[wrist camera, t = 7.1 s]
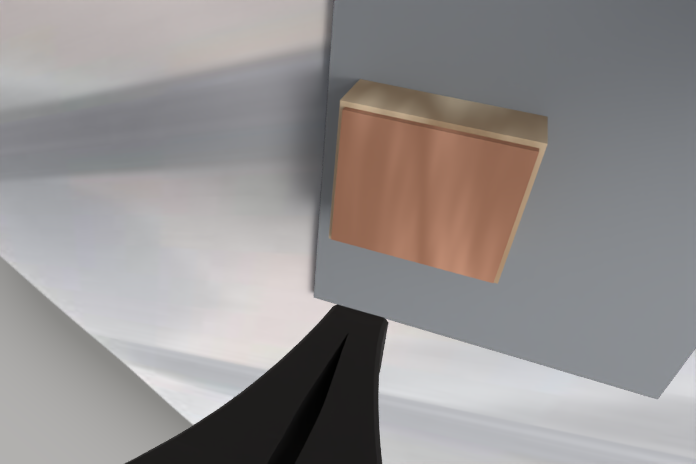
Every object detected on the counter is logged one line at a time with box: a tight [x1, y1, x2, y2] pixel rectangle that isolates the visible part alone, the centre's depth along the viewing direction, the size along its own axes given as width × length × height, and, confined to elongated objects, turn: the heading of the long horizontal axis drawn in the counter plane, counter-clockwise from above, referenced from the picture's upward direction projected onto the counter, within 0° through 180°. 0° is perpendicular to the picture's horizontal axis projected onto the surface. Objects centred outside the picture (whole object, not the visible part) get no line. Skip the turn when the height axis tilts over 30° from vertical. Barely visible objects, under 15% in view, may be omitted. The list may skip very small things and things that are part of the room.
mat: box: [314, 0, 696, 399], centre depth 20 cm, size 17×18×1 cm
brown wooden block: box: [329, 79, 548, 284], centre depth 19 cm, size 3×6×7 cm
